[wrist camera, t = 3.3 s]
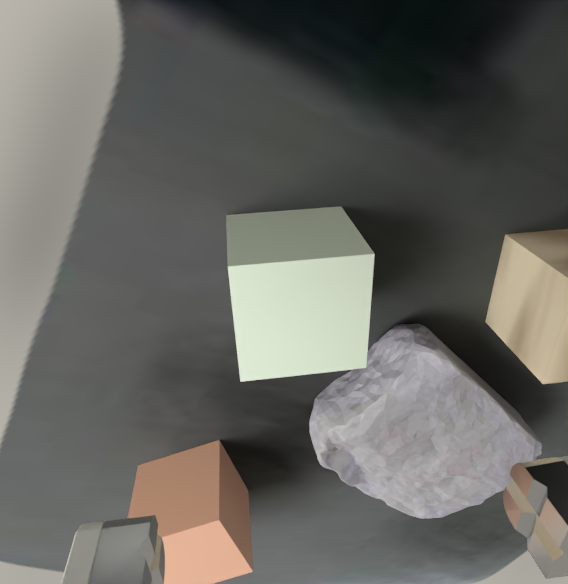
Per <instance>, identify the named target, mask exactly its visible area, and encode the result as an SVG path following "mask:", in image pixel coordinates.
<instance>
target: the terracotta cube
mask: <svg viewBox="0 0 568 584" xmlns="http://www.w3.org/2000/svg"><path fill="white" fill-rule="evenodd" d="M151 515H155V516H156V519H157V522H158V531H157V535H159V536H161V537H162V540H163V544H164V551H165V575H164V584H213V583H216V582H220V581H223V580H226V579H230V578H233V577H236V576H240V575H243V574H247V573H250V572H253V562H252V545H251V527H250V510H249V493H248V489H247V488H246V486H245V484H244V482H243V481H242V479H241V477H240V475H239V474H238V472H237V470H236V468H235V466H234V465H233V463H232V461H231V459H230V458H229V456H228V454H227V452H226V451H225V449H224V447H223V445H222V444H221V442H220V440H218V441H214V442H211V443H208V444H205V445H202V446H199V447H195V448H192V449H189V450H186V451H183V452H180V453H176V454H173V455H170V456H167V457H164V458H161V459H157V460H154V461H151V462H148V463H145V464H142V465H138V469H137V474H136V479H135V484H134V489H133V495H132V500H131V505H130V510H129V515H128V518H135V517H143V516H151Z"/></svg>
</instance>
